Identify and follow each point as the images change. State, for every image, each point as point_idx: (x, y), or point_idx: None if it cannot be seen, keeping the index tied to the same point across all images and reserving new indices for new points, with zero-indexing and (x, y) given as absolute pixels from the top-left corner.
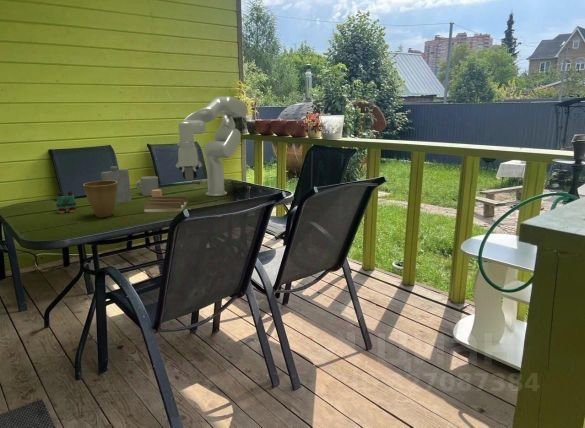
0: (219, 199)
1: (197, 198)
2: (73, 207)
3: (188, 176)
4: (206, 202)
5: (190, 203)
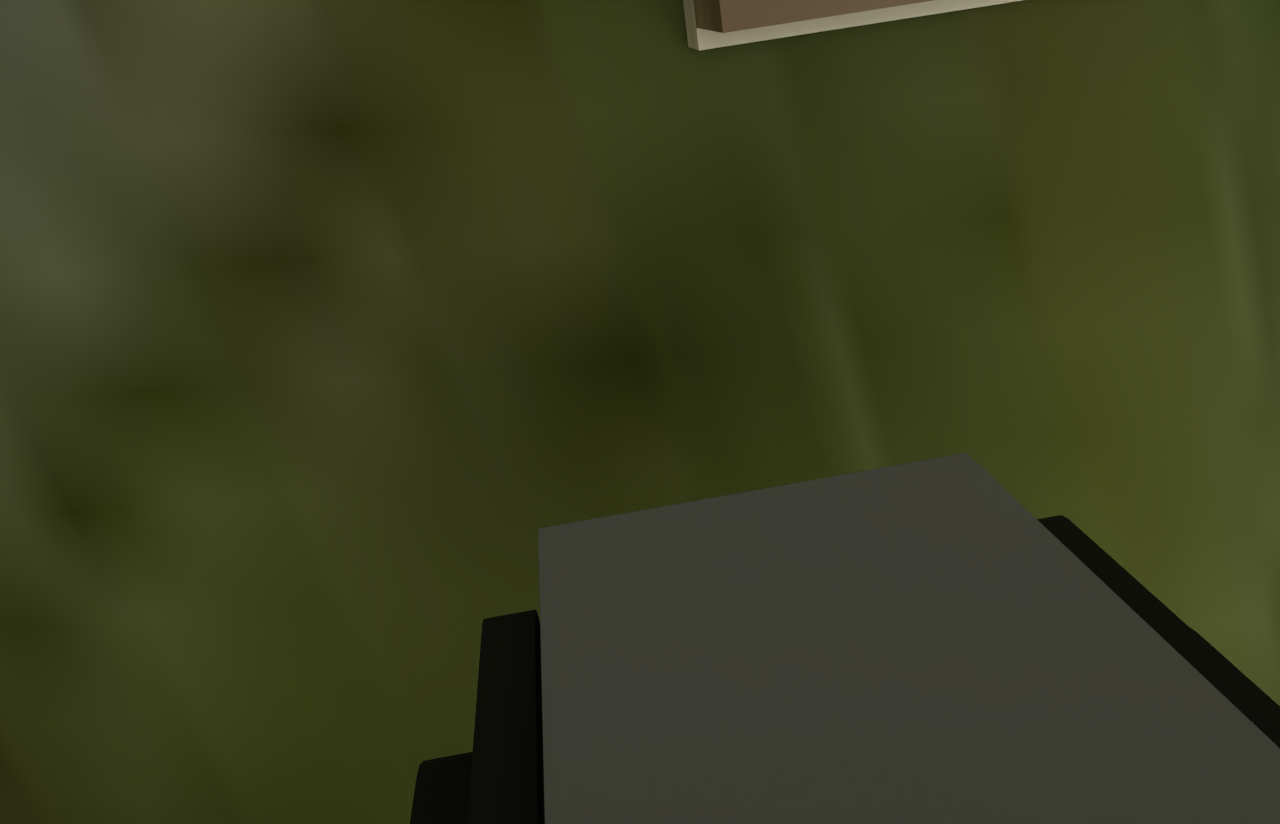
0: (55, 624)
1: None
2: None
3: (854, 587)
4: (234, 268)
5: (621, 117)
